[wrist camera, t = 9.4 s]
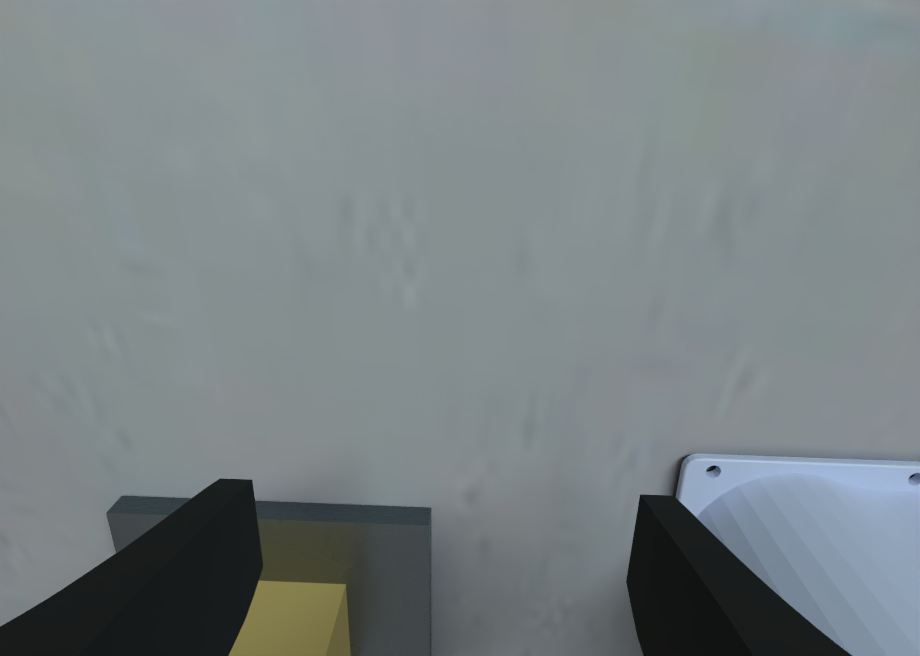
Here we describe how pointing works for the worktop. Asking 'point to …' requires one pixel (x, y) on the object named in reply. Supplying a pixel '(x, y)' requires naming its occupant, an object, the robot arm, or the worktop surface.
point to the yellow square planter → (295, 621)
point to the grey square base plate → (333, 561)
